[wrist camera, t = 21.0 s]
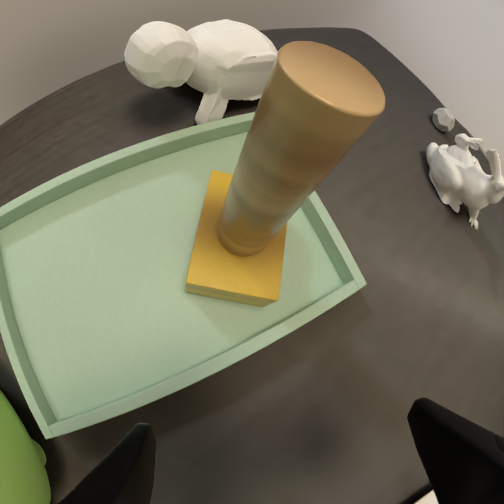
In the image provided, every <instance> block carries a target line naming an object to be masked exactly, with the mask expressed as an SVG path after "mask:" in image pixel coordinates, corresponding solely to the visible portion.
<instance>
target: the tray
mask: <svg viewBox="0 0 504 504" xmlns="http://www.w3.org/2000/svg"><path fill="white" fill-rule="evenodd" d="M254 114H255V112H252V113H247V114H242V115H237V116H233V117H228V118H224V119H220V120H216V121H212V122H208V123H204V124H200V125H196V126H193V127H189V128H186V129H182V130H179V131H175V132H172V133H169V134H165V135H162V136H159V137H156V138H153V139H150V140H147V141H144V142H141V143H138V144H135V145H132V146H130V147H127V148H124V149H121V150H119V151H116V152H114V153H111V154H108V155H106V156H103V157H101V158H99V159H96V160H94V161H91V162H89V163H87V164H84V165H82V166H80V167H77V168H75V169H73V170H71V171H69V172H66V173H64V174H62V175H60V176H58V177H56V178H54V179H52V180H50V181H48V182H46V183H44V184H42V185H40V186H38V187H36V188H34V189H32V190H30V191H29V192H27V193H25V194H23V195H21V196H19V197H18V198H16V199H14V200H12V201H11V202H9V203H7V204H6V205H4V206H2V207H1V208H0V331H1V335H2V338H3V342H4V345H5V348H6V351H7V354H8V357H9V360H10V362H11V365H12V368H13V371H14V373H15V376H16V378H17V381H18V383H19V386H20V388H21V390H22V393H23V395H24V397H25V399H26V402H27V404H28V406H29V408H30V410H31V412H32V414H33V416H34V418H35V420H36V422H37V424H38V426H39V428H40V430H41V431H42V433H43V435H44V437H45V439H50V438H54V437H57V436H61V435H64V434H67V433H70V432H73V431H76V430H79V429H82V428H85V427H88V426H91V425H94V424H97V423H100V422H103V421H105V420H108V419H111V418H113V417H116V416H119V415H121V414H124V413H127V412H129V411H132V410H134V409H137V408H139V407H142V406H144V405H146V404H149V403H151V402H154V401H156V400H158V399H161V398H163V397H165V396H167V395H170V394H172V393H174V392H176V391H179V390H181V389H183V388H185V387H187V386H190V385H192V384H194V383H196V382H198V381H200V380H202V379H204V378H206V377H208V376H210V375H212V374H214V373H217V372H219V371H221V370H223V369H224V368H226V367H228V366H230V365H232V364H234V363H236V362H238V361H240V360H242V359H244V358H246V357H248V356H249V355H251V354H253V353H255V352H257V351H259V350H261V349H262V348H264V347H266V346H268V345H270V344H271V343H273V342H275V341H277V340H278V339H280V338H282V337H284V336H285V335H287V334H289V333H291V332H292V331H294V330H296V329H297V328H299V327H301V326H302V325H304V324H306V323H307V322H309V321H311V320H312V319H314V318H316V317H317V316H319V315H321V314H322V313H324V312H325V311H327V310H329V309H330V308H332V307H333V306H335V305H336V304H338V303H340V302H341V301H343V300H344V299H346V298H347V297H349V296H350V295H352V294H353V293H355V292H356V291H358V290H359V289H361V288H362V287H364V286H365V285H366V282H365V280H364V278H363V276H362V274H361V272H360V270H359V268H358V266H357V264H356V262H355V260H354V258H353V257H352V255H351V253H350V251H349V249H348V247H347V245H346V244H345V242H344V240H343V238H342V236H341V235H340V233H339V231H338V229H337V227H336V226H335V224H334V222H333V220H332V219H331V217H330V215H329V214H328V212H327V210H326V208H325V207H324V205H323V203H322V202H321V200H320V198H319V197H318V195H317V193H316V192H315V191H314V192H313V193H312V194H311V195H310V196H309V197H308V199H307V200H306V201H305V202H304V203H303V204H302V205H301V207H300V208H299V209H298V210H297V211H296V212H295V214H294V215H293V216H292V217H291V218H290V219H289V220H288V222H287V230H286V240H285V249H284V258H283V266H282V275H281V283H280V292H279V300H278V301H276V302H274V303H272V304H269V305H267V306H265V307H259V306H253V305H248V304H242V303H237V302H232V301H226V300H221V299H216V298H211V297H206V296H201V295H196V294H191V293H187V292H185V285H186V278H187V273H188V268H189V264H190V259H191V254H192V250H193V245H194V241H195V236H196V232H197V228H198V224H199V219H200V215H201V211H202V207H203V203H204V199H205V195H206V191H207V187H208V183H209V179H210V176H211V172H212V170H215V171H220V172H224V173H228V174H234V171H235V168H236V165H237V162H238V159H239V156H240V153H241V150H242V147H243V145H244V142H245V139H246V136H247V133H248V130H249V128H250V125H251V122H252V119H253V117H254Z"/></svg>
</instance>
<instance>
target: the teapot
mask: <svg viewBox="0 0 504 504" xmlns="http://www.w3.org/2000/svg"><path fill="white" fill-rule="evenodd" d="M45 464H46V455H45V453H44V451H43V449H42V448H41V446H40V445H39V444H38V443H37V442H36V441H34V440H33V439H31V438H30V436H29V434H28V432H27V430H26V429H25V427H24V425H23V423H22V422H21V420H20V418H19V417H18V415H17V413H16V412H15V410H14V409H13V407H12V406H11V404H10V403H9V401H8V400H7V398H6V397H5V395H4V394H3V393H2V391H1V390H0V504H50V500H51V489H50V485H49V480H48V476H47V472H46V470H45V467H44V466H45Z"/></svg>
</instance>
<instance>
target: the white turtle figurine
mask: <svg viewBox="0 0 504 504" xmlns="http://www.w3.org/2000/svg"><path fill="white" fill-rule="evenodd" d="M277 54H278V51H277V50H276V48H275V46H274V45H273V43H272V42H271V41H270V40H269V39H268V38H267V37H266V36H265V35H264V34H262V33H261V32H259V31H258V30H257V29H255V28H253V27H251V26H249V25H247V24H244V23H240V22H235V21H231V20H228V19H224V20H220V21H215V22H206V23H204V24H201V25H199V26H196V27H194V28H192V29H190V30H188V31H187V32H186V31H185V30H184V29H182V28H181V27H179V26H176V25H174V24H170V23H167V22H161V21H154V22H150V23H147V24H145V25H142V26H141V28H140V29H138V30H137V31H135V33H133V34H132V35H131V37H130V39H129V41H128V44H127V46H126V49H125V52H124V58H125V64H126V67H127V69H128V71H129V72H130V73H131V74H132V75H133V76H134V77H135V78H136V79H137V80H138V81H140V82H141V83H143V84H145V85H147V86H149V87H152V88H163V87H167V86H171V87H175V88H176V87H179V86H182V85H183V84H184V83H185V82H186V83H187V84H188V85H189V86H191V87H192V88H194V89H196V90H198V91H201V92H203V93H204V94H203V98H202V100H201V103H200V106H199V109H198V111H197V113H196V116H195V121H196V123H197V125H200V124H204V123H208V122H212V121H216V120H220V119H222V117H223V114H224V112H225V110H226V107H227V103H228V101H229V100H252V101H253V100H257V99H258V98H261V95H262V92H263V90H264V87H265V85H266V82H267V79H268V77H269V74H270V72H271V69H272V66H273V64H274V61H275V59H276V56H277Z"/></svg>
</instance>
